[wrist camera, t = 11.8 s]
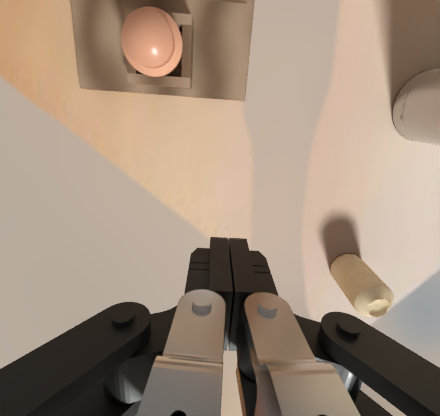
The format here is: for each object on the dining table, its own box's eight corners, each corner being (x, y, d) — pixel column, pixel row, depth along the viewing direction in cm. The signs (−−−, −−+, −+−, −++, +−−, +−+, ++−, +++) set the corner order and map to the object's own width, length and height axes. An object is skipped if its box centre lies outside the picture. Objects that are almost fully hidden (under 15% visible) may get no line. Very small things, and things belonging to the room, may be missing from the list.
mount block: (261, -85, 30) (268, -117, 25) (243, 100, 36) (247, 100, 32) (66, -105, 29) (41, -141, 25) (85, 88, 35) (67, 86, 31)
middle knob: (186, 21, 29) (179, 1, 24) (185, 81, 31) (178, 76, 26) (130, 16, 29) (111, -5, 24) (133, 77, 31) (116, 71, 26)
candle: (328, 257, 45) (357, 296, 36) (361, 249, 45) (400, 287, 35) (331, 283, 47) (360, 327, 38) (363, 277, 46) (400, 319, 37)
